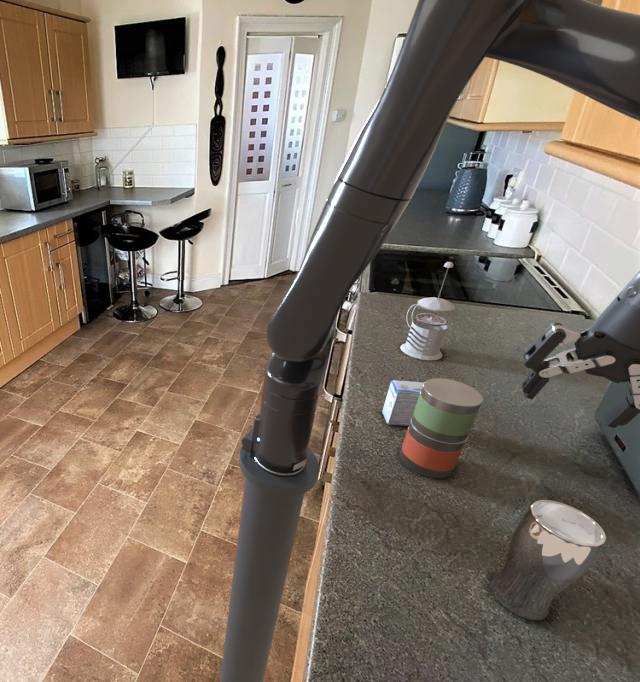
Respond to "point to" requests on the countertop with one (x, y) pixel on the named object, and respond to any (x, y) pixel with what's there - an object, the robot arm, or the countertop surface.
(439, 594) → the countertop surface
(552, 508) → the beer glass
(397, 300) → the countertop surface
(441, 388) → the tin stack
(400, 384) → the medicine box
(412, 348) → the french press
